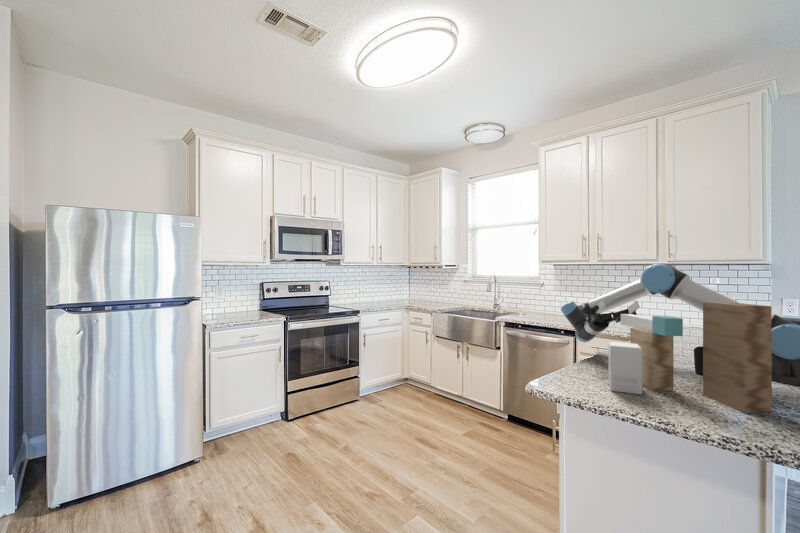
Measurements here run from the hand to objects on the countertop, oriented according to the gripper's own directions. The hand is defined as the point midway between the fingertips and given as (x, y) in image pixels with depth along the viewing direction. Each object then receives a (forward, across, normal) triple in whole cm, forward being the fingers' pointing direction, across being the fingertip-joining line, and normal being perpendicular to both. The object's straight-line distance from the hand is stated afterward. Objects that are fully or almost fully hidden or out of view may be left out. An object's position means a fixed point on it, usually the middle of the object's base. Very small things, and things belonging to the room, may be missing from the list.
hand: (620, 303), depth 146 cm
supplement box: (+7, +12, -35) cm, 38 cm away
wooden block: (+2, 0, -32) cm, 32 cm away
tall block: (+17, -14, -41) cm, 46 cm away
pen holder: (-10, -32, -25) cm, 42 cm away
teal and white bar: (+10, 0, -15) cm, 18 cm away
